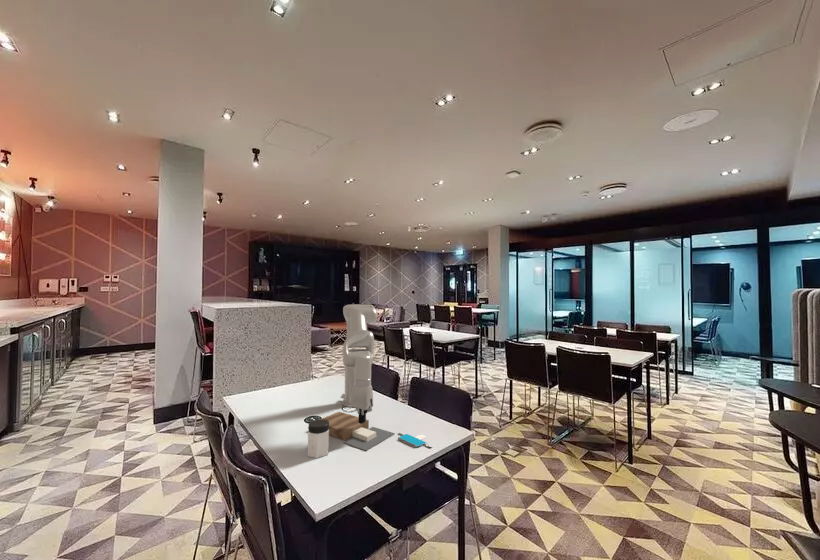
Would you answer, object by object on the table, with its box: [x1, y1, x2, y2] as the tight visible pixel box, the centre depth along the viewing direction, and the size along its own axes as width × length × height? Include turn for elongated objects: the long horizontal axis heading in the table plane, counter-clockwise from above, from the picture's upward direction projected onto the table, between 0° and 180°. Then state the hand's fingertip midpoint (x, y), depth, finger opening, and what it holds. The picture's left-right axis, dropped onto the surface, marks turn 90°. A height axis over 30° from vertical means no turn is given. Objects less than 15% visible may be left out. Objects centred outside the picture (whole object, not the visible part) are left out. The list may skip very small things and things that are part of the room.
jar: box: [307, 418, 330, 459], centre depth 135 cm, size 9×8×12 cm
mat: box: [343, 426, 395, 452], centre depth 149 cm, size 13×20×1 cm, turn 147°
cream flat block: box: [352, 427, 376, 441], centre depth 150 cm, size 9×6×2 cm, turn 55°
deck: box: [318, 411, 370, 442], centre depth 158 cm, size 20×16×4 cm
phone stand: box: [397, 432, 428, 449], centre depth 147 cm, size 20×12×2 cm, turn 45°
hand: (362, 422), depth 152 cm, fingers closed
